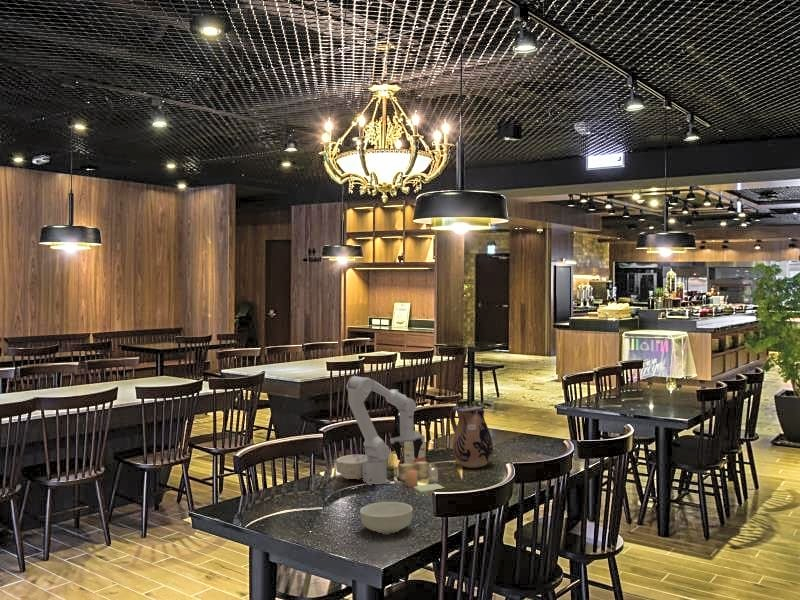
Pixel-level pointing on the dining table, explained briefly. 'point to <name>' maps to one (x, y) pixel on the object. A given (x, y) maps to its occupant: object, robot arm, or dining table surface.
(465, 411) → the ceramic pitcher
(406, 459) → the ink cartridge box
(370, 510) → the cereal bowl
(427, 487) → the mat
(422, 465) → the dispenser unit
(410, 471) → the terracotta cap
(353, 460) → the paper bowls
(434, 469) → the grey shiny short cylinder
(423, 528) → the dining table surface
